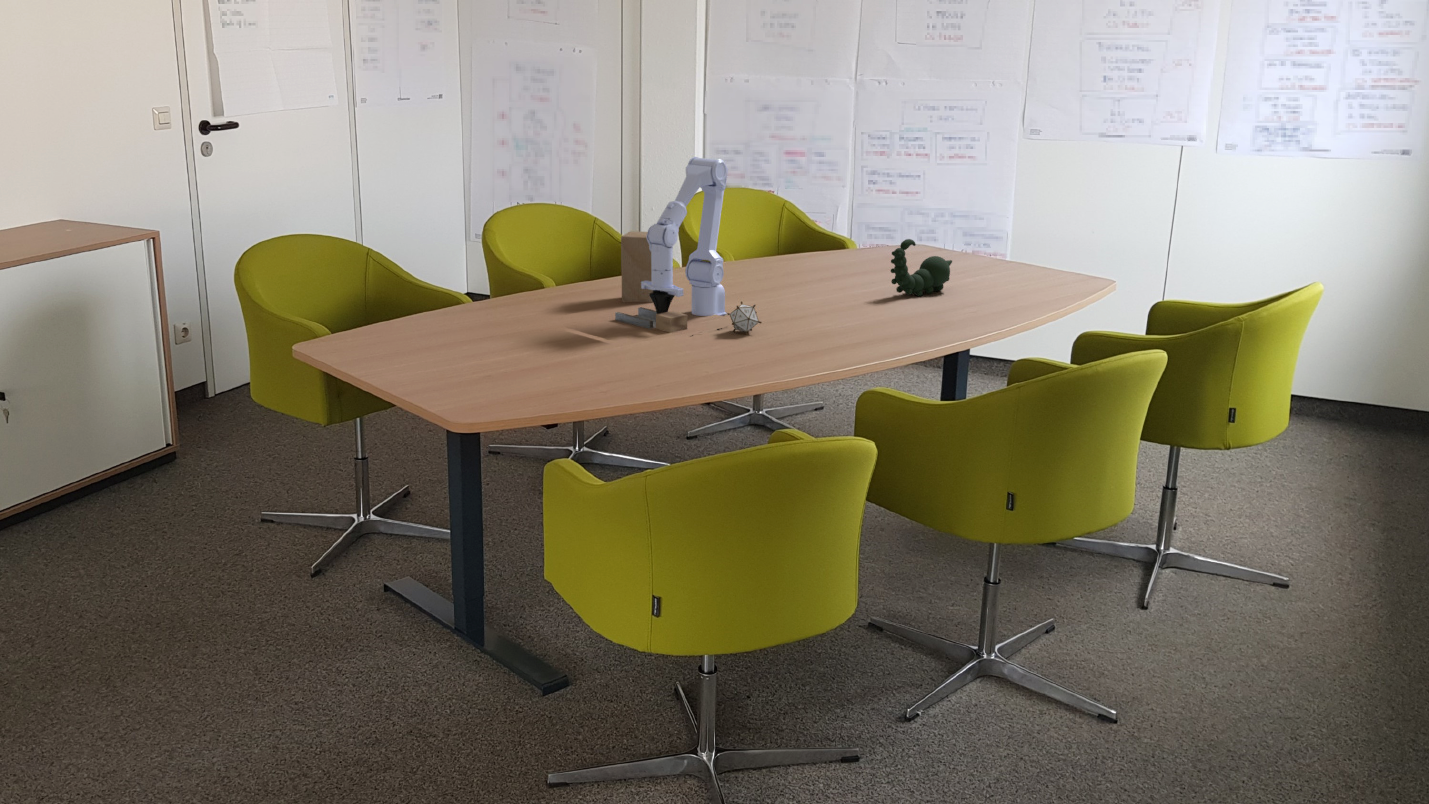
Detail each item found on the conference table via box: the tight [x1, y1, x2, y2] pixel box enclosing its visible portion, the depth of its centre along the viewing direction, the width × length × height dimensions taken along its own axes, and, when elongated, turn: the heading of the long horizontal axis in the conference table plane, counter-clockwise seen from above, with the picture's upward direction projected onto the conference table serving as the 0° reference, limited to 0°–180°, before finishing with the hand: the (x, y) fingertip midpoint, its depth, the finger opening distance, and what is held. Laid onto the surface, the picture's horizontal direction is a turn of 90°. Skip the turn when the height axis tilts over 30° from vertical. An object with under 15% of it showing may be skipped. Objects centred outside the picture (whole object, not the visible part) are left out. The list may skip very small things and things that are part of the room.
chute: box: [614, 306, 702, 333], centre depth 328 cm, size 10×24×3 cm, turn 46°
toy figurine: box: [890, 238, 953, 297], centre depth 371 cm, size 9×19×25 cm
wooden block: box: [620, 230, 654, 304], centre depth 356 cm, size 10×10×20 cm
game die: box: [726, 301, 763, 336], centre depth 323 cm, size 9×8×10 cm
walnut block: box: [655, 310, 688, 333], centre depth 323 cm, size 6×6×4 cm
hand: (662, 318), depth 326 cm, fingers closed
